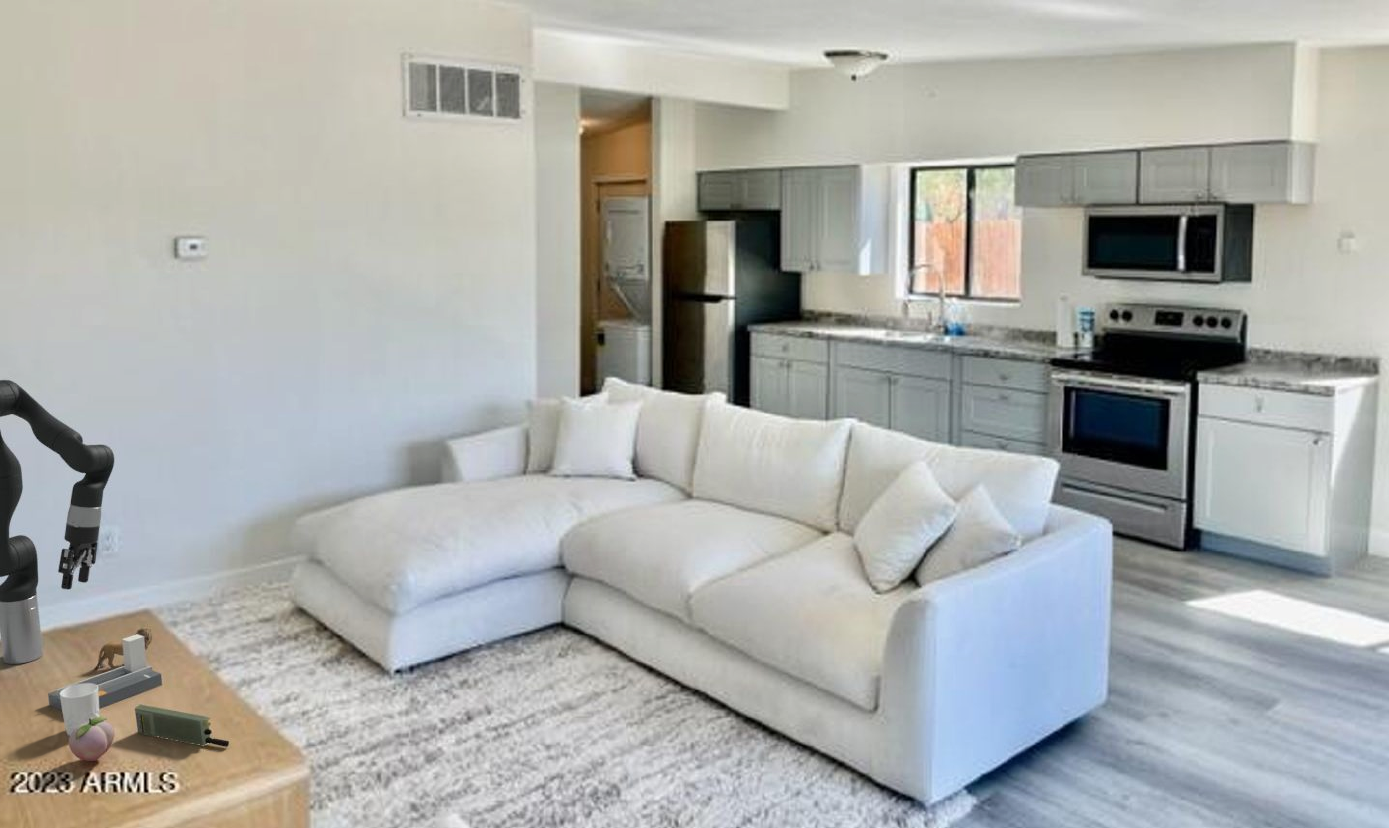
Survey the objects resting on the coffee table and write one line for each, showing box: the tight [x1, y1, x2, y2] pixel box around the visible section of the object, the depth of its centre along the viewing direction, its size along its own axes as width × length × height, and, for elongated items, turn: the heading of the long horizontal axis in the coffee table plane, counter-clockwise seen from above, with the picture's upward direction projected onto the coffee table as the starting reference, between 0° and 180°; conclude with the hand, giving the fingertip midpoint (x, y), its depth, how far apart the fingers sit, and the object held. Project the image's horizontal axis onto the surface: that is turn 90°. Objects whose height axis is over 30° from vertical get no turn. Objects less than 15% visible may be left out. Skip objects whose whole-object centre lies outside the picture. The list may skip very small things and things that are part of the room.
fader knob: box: [121, 633, 148, 674], centre depth 288 cm, size 4×4×9 cm
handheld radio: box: [134, 704, 230, 748], centre depth 259 cm, size 7×3×25 cm
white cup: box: [60, 683, 100, 737], centre depth 263 cm, size 8×8×10 cm
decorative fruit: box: [68, 716, 115, 762], centre depth 249 cm, size 9×8×10 cm
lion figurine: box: [93, 626, 153, 671], centre depth 300 cm, size 15×5×9 cm, turn 130°
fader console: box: [47, 665, 163, 711], centre depth 282 cm, size 12×22×4 cm, turn 148°
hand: (74, 585), depth 288 cm, fingers open, 8 cm apart
